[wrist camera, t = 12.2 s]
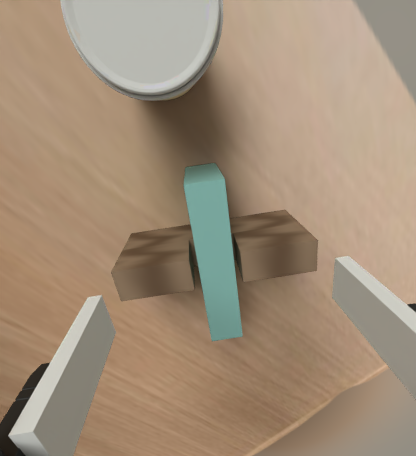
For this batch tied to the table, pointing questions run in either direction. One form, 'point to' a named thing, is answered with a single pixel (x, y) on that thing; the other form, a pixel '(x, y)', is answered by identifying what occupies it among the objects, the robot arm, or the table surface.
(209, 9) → the coffee cup
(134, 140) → the table surface
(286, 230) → the walnut rail
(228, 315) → the teal rectangular block
